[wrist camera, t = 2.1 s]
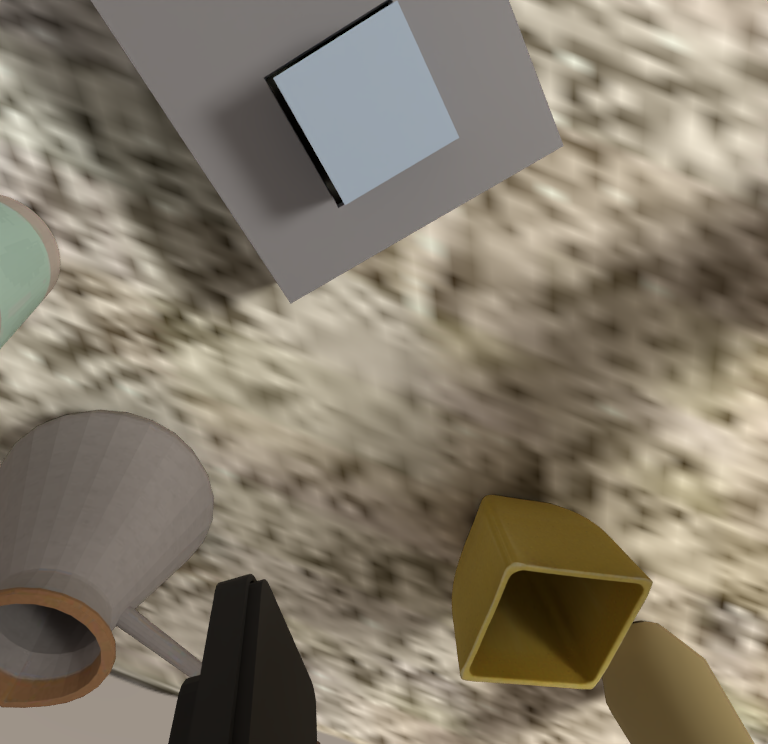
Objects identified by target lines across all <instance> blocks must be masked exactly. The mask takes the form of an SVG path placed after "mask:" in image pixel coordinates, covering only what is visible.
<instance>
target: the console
mask: <svg viewBox="0 0 768 744" xmlns="http://www.w3.org/2000/svg"><path fill="white" fill-rule="evenodd" d="M395 1H398V3H399V5H400V7H401V10H402V12H403V14H404V16H405V19H406V21H407V23H408V25H409V27H410V30H411V32H412V34H413V36H414V38H415V41H416V43H417V45H418V47H419V50H420V52H421V54H422V56H423V58H424V61H425V63H426V65H427V67H428V69H429V72H430V74H431V76H432V78H433V80H434V83H435V85H436V87H437V89H438V92H439V94H440V96H441V98H442V100H443V103H444V105H445V107H446V109H447V111H448V114H449V116H450V118H451V120H452V122H453V125H454V127H455V129H456V131H457V134H458V136H459V138H458V139H456V140H454V141H453V142H451V143H449V144H448V145H446V146H444V147H443V148H441V149H439V150H438V151H436V152H434V153H432V154H431V155H429V156H427V157H426V158H424V159H422V160H421V161H419V162H417V163H416V164H414V165H412V166H411V167H409V168H407V169H405V170H404V171H402V172H400V173H399V174H397V175H395V176H394V177H392V178H390V179H389V180H387V181H385V182H384V183H382V184H380V185H378V186H377V187H375V188H373V189H372V190H370V191H368V192H367V193H365V194H363V195H362V196H360V197H358V198H357V199H355V200H353V201H351V202H350V203H348V204H346V205H345V204H344V202H341V203H340V204H338V205H337V204H336V202H335V200H334V198H333V197H332V195H331V193H330V191H329V190H328V188H327V186H326V184H325V183H324V181H323V179H322V177H321V176H320V174H319V172H318V170H317V169H316V167H315V165H314V163H313V162H312V160H311V158H310V156H309V155H308V153H307V151H306V149H305V148H304V146H303V144H302V142H301V141H300V139H299V137H298V135H297V134H296V132H295V130H294V128H293V127H292V125H291V123H290V121H289V120H288V118H287V116H286V114H285V113H284V111H283V109H282V107H281V106H280V104H279V102H278V100H277V99H276V97H275V95H274V93H273V92H272V90H271V88H270V86H269V85H268V83H267V81H266V78H268V77H269V76H271V75H273V74H274V73H276V72H277V71H279V70H281V69H282V68H284V67H285V66H287V65H289V64H290V63H292V62H293V61H295V60H296V59H298V58H300V57H301V56H303V55H304V54H306V53H308V52H309V51H311V50H312V49H314V48H316V47H317V46H319V45H320V44H322V43H323V42H325V41H327V40H328V39H330V38H331V37H333V36H335V35H336V34H338V33H339V32H341V31H343V30H344V29H346V28H347V27H349V26H350V25H352V24H354V23H355V22H357V21H358V20H360V19H362V18H363V17H365V16H366V15H368V14H370V13H371V12H373V11H374V10H376V9H377V8H379V7H381V6H382V5H384V4H385V3H387V2H388V4H389V5H390V4H392V3H393V2H395ZM91 2H92V3H93V5H94V6H95V8H96V9H97V11H98V12H99V14H100V15H101V17H102V18H103V20H104V21H105V23H106V24H107V26H108V27H109V29H110V31H111V32H112V34H113V35H114V37H115V38H116V40H117V41H118V43H119V44H120V46H121V47H122V49H123V50H124V52H125V53H126V55H127V56H128V58H129V59H130V61H131V62H132V64H133V65H134V67H135V68H136V70H137V71H138V73H139V74H140V76H141V77H142V79H143V81H144V82H145V84H146V85H147V87H148V88H149V90H150V91H151V93H152V94H153V96H154V97H155V99H156V100H157V102H158V103H159V105H160V106H161V108H162V109H163V111H164V112H165V114H166V115H167V117H168V118H169V120H170V121H171V123H172V124H173V126H174V128H175V129H176V131H177V132H178V134H179V135H180V137H181V138H182V140H183V141H184V143H185V144H186V146H187V147H188V149H189V150H190V152H191V153H192V155H193V156H194V158H195V159H196V161H197V162H198V164H199V165H200V167H201V168H202V170H203V171H204V173H205V174H206V176H207V178H208V179H209V181H210V182H211V184H212V185H213V187H214V188H215V190H216V191H217V193H218V194H219V196H220V197H221V199H222V200H223V202H224V203H225V205H226V206H227V208H228V209H229V211H230V212H231V214H232V215H233V217H234V218H235V220H236V221H237V223H238V225H239V226H240V228H241V229H242V231H243V232H244V234H245V235H246V237H247V238H248V240H249V241H250V243H251V244H252V246H253V247H254V249H255V250H256V252H257V253H258V255H259V256H260V258H261V259H262V261H263V262H264V264H265V265H266V267H267V268H268V270H269V271H270V273H271V275H272V276H273V278H274V279H275V281H276V282H277V284H278V285H279V287H280V288H281V290H282V291H283V293H284V294H285V296H286V297H287V299H288V300H289V302H290V303H292V302H294V301H296V300H298V299H299V298H301V297H303V296H305V295H306V294H308V293H310V292H311V291H313V290H315V289H317V288H318V287H320V286H322V285H324V284H325V283H327V282H329V281H330V280H332V279H334V278H336V277H337V276H339V275H341V274H343V273H344V272H346V271H348V270H350V269H351V268H353V267H355V266H356V265H358V264H360V263H362V262H363V261H365V260H367V259H369V258H370V257H372V256H374V255H375V254H377V253H379V252H381V251H382V250H384V249H386V248H388V247H389V246H391V245H393V244H394V243H396V242H398V241H400V240H401V239H403V238H405V237H407V236H408V235H410V234H412V233H414V232H415V231H417V230H419V229H420V228H422V227H424V226H426V225H427V224H429V223H431V222H433V221H434V220H436V219H438V218H439V217H441V216H443V215H445V214H446V213H448V212H450V211H452V210H453V209H455V208H457V207H458V206H460V205H462V204H464V203H465V202H467V201H469V200H471V199H472V198H474V197H476V196H477V195H479V194H481V193H483V192H484V191H486V190H488V189H490V188H491V187H493V186H495V185H497V184H498V183H500V182H502V181H503V180H505V179H507V178H509V177H510V176H512V175H514V174H516V173H517V172H519V171H521V170H522V169H524V168H526V167H528V166H529V165H531V164H533V163H535V162H536V161H538V160H540V159H541V158H543V157H545V156H547V155H548V154H550V153H552V152H554V151H555V150H557V149H559V148H560V147H562V146H563V143H562V140H561V138H560V135H559V132H558V130H557V127H556V124H555V122H554V119H553V117H552V114H551V111H550V109H549V106H548V103H547V101H546V98H545V95H544V93H543V90H542V87H541V85H540V82H539V79H538V77H537V74H536V71H535V69H534V66H533V63H532V61H531V58H530V55H529V53H528V50H527V47H526V45H525V42H524V40H523V37H522V34H521V32H520V29H519V26H518V24H517V21H516V18H515V16H514V13H513V10H512V8H511V5H510V2H509V0H91Z"/></svg>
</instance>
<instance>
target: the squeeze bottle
mask: <svg viewBox="0 0 768 744" xmlns="http://www.w3.org/2000/svg"><path fill="white" fill-rule="evenodd" d="M602 679H603V685H604V692H605V698H606V703H607V705H608V707H609V709H610V711H611V713H612V714H613V716H614V718H615V719H616V721H617V723H618V724H619V726H620V727H621V729H622V731H623V732H624V734H625V735H626V737H627V739H628V740H629V742H630V743H631V744H754V742H753V740H752V739H751V737H750V735H749V733H748V732H747V730H746V728H745V727H744V725H743V723H742V722H741V720H740V718H739V716H738V715H737V713H736V711H735V710H734V708H733V706H732V704H731V703H730V701H729V699H728V698H727V696H726V694H725V692H724V691H723V689H722V687H721V686H720V684H719V682H718V680H717V679H716V677H715V675H714V674H713V672H712V670H711V668H710V667H709V665H708V663H707V662H706V660H705V659H704V658H703V657H702V656H700V655H699V654H698V653H696V652H695V651H694V650H693V649H691V648H690V647H689V646H687V645H686V644H685V643H683V642H682V641H681V640H679V639H678V638H677V637H676V636H674V635H673V634H672V633H670V632H669V631H668V630H666V629H665V628H664V627H662V626H661V625H659V624H658V623H652V622H646V621H645V622H639V623H632V624H631V626H630V628H629V630H628V631H627V633H626V635H625V637H624V639H623V640H622V643H621V644H620V646H619V648H618V649H617V651H616V653H615V655H614V657H613V658H612V660H611V662H610V664H609V666H608V668H607V669H606V671H605V673H604V674H603V675H602Z"/></svg>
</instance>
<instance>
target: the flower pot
mask: <svg viewBox="0 0 768 744" xmlns="http://www.w3.org/2000/svg"><path fill="white" fill-rule="evenodd" d="M652 583H653V582H652V581H651V579H650V578H649V577H648V576H647V575H646V574H645V573H644V572H643V571H642V570H641V569H640V568H639V567H638V566H637V565H636V564H635V563H634V562H633V561H632V560H631V559H630V558H629V557H628V555H627V554H626V553H625V552H624V551H623V550H622V549H621V548H620V547H619V546H618V545H617V544H616V543H615V542H614V541H613V540H612V539H611V538H610V537H609V536H608V535H607V534H606V533H605V532H604V531H603V530H602V529H601V528H600V527H598V526H597V525H596V524H594V523H593V522H591V521H590V520H588V519H587V518H585V517H583V516H581V515H579V514H577V513H575V512H573V511H570V510H568V509H565V508H562V507H560V506H556V505H553V504H550V503H545V502H538V501H531V500H524V499H517V498H511V497H504V496H498V495H487V496H485V497H484V498H483V499H482V501H481V504H480V506H479V509H478V512H477V515H476V517H475V520H474V522H473V525H472V528H471V530H470V533H469V535H468V538H467V540H466V542H465V545H464V548H463V550H462V553H461V556H460V559H459V562H458V566H457V569H456V573H455V577H454V582H453V590H452V614H453V622H454V630H455V638H456V647H457V655H458V662H459V670H460V676H461V679H463V680H467V681H475V682H492V683H506V684H520V685H535V686H546V687H559V688H573V689H593V688H594V687H595V685H596V684H597V683H598V682H599V680H600V679H601V677H602V675H603V674H604V673H605V671H606V669H607V668H608V666H609V664H610V662H611V660H612V658H613V657H614V655H615V653H616V651H617V649H618V648H619V646H620V644H621V643H622V640H623V639H624V637H625V635H626V633H627V631H628V630H629V628H630V626H631V624H632V623H633V621H634V619H635V617H636V615H637V614H638V612H639V610H640V609H641V607H642V605H643V604H644V602H645V600H646V598H647V596H648V594H649V591H650V589H651V586H652Z"/></svg>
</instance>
